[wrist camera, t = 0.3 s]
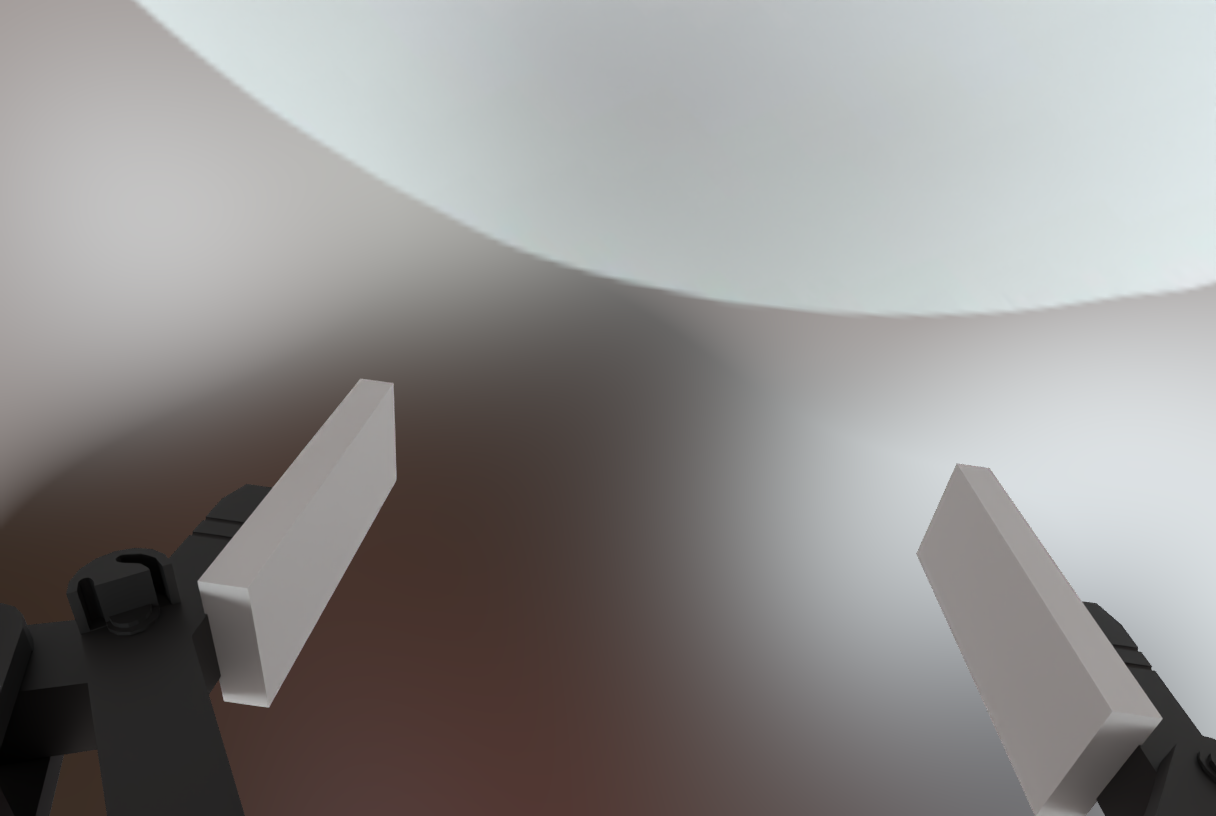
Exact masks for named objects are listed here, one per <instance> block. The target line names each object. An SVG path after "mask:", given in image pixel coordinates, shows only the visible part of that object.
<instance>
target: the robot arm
mask: <svg viewBox="0 0 1216 816" xmlns="http://www.w3.org/2000/svg"><path fill="white" fill-rule="evenodd" d="M395 481H396V448H395V416H394V384H393V383H388V382H381V381H374V380H367V379H360V380H359V381H358V383H357V384H356V385H355V386H354V387H353V389H352V390H351V391H350V392H349V394H348V395H347V396H346V397H345V399H344V400H343V401H342V402H341V404H340V405H339V406H338V408H337V409H336V410H335V411H334V412H333V413H332V415H331V416H330V417H329V418H328V420H327V421H326V422H325V424H324V425H323V426H322V427H321V428H320V430H319V431H318V432H317V434H316V435H315V436H314V437H313V438H312V440H311V441H310V442H309V443H308V445H307V446H306V447H305V448H304V450H303V451H302V452H301V453H300V454H299V456H298V457H297V458H296V459H295V461H294V462H293V463H292V465H291V466H290V467H289V468H288V469H287V471H286V472H285V473H284V474H283V476H282V477H281V478H280V479H279V481H278V482H277V483H276V484H275V486H274V487H273V488H271V487H263V486H257V485H249V484H246V485H244V486H243V487H241V488H240V489H238V490H236V491H234V492H233V493H231V494H229V495H227V496H226V497H224V498H222V499H221V501H220V502H219V503H218V504H217V505H216V506H215V507H214V508H213V509H212V510H211V512H210V513H209V514H208V515H207V516H206V520H205V521H204V520H203V521H202V522H201V523H200V524H199V525H198V526H197V527H196V528H195V530H194V531H193V534H192V536H191V535H189V536H188V538H187V539H186V540H185V541H184V542H183V543H182V544H181V545H180V546H179V548H178V549H177V550H176V551H175V552H174V553H173V554H172V555H171V557H170V558H169V559H168V558H167V557H166V555H165V554H163V553H160V552H158V551H155V550H153V549H142V548H132V549H126V550H120V551H115V552H112V553H110V554H107V555H104V556H102V557H99V558H96V559H95V560H93V561H92V562H90V563H89V564H87V565H85V566H84V567H82V568H81V569H79V571H78V572H77V573H76V574H75V575H74V577H73V578H72V579H71V580H70V581H69V584H68V589H67V597H68V600H69V603H70V606H71V609H72V612H73V614H74V617H75V620H71V621H63V622H53V623H43V624H34V625H27V624H26V621H25V619H24V616H23V615H22V614H21V612H20V611H18V610H17V608H16V607H14V606H10V605H6V604H3V603H0V816H49V815H50V811H51V807H52V802H53V798H54V794H55V789H56V786H57V781H58V777H59V773H60V769H61V764H62V760H63V756H64V754H70V753H77V752H83V751H90V750H98V756H99V763H100V770H101V777H102V784H103V790H104V797H105V804H106V811H107V816H245V815H244V812H243V808H242V805H241V802H240V798H239V795H238V792H237V788H236V785H235V781H234V778H233V775H232V771H231V768H230V765H229V761H228V758H227V754H226V751H225V748H224V745H223V741H222V738H221V734H220V731H219V727H218V724H217V721H216V717H215V714H214V711H213V708H212V704H211V701H210V697H209V694H210V692H211V691H212V689H213V688H214V686H215V684H216V683H217V681H218V680H220V685H221V689H222V694H223V698H224V701H226V702H233V703H241V704H247V705H254V706H262V707H269V706H270V705H271V703H272V701H273V699H274V697H275V696H276V694H277V692H278V690H279V689H280V687H281V685H282V683H283V681H284V679H285V678H286V676H287V674H288V672H289V671H290V669H291V667H292V665H293V664H294V662H295V660H296V658H297V656H298V654H299V653H300V651H301V649H302V647H303V646H304V644H305V642H306V640H307V638H308V637H309V635H310V633H311V631H312V630H313V628H314V626H315V624H316V623H317V621H318V619H319V617H320V615H321V614H322V612H323V610H324V608H325V606H326V605H327V603H328V601H329V599H330V598H331V595H332V594H333V592H334V590H335V588H336V587H337V585H338V583H339V581H340V580H341V578H342V576H343V574H344V572H345V571H346V569H347V567H348V565H349V563H350V562H351V560H352V558H353V556H354V555H355V553H356V551H357V549H358V548H359V546H360V544H361V542H362V540H363V539H364V537H365V535H366V533H367V532H368V530H369V528H370V526H371V524H372V523H373V521H374V519H375V517H376V515H377V514H378V512H379V510H380V508H381V507H382V505H383V503H384V501H385V499H386V498H387V496H388V494H389V492H390V490H391V489H392V487H393V485H394V483H395ZM917 556H918V559H919V561H920V563H921V565H922V567H923V570H924V572H925V574H926V576H927V578H928V580H929V583H930V585H931V587H932V589H933V592H934V594H935V596H936V598H937V600H938V602H939V605H940V607H941V609H942V611H943V614H944V616H945V618H946V620H947V623H948V625H949V627H950V629H951V631H952V634H953V636H954V638H955V640H956V642H957V645H958V647H959V649H960V651H961V654H962V655H963V658H964V660H965V662H966V665H967V667H968V669H969V671H970V673H971V675H972V678H973V680H974V682H975V684H976V686H977V689H978V691H979V693H980V695H981V698H982V700H983V702H984V704H985V706H986V709H987V711H988V713H989V715H990V718H991V720H992V722H993V724H994V726H995V728H996V731H997V733H998V735H999V737H1000V739H1001V742H1002V744H1003V746H1004V748H1005V751H1006V753H1007V755H1008V757H1009V759H1010V761H1011V764H1012V766H1013V768H1014V770H1015V773H1016V775H1017V777H1018V779H1019V781H1020V784H1021V786H1022V788H1023V790H1024V793H1025V795H1026V797H1027V799H1028V801H1029V804H1030V806H1031V808H1032V810H1033V812H1034V815H1035V816H1086V814H1087V813H1088V812H1089V811H1090V810H1091V808H1092V807H1093V806H1094V804H1095V803H1096V802H1097V801H1098V803H1099V805H1100V807H1101V809H1102V811H1103V813H1104V814H1105V816H1216V740H1215V739H1212V738H1209V737H1204V736H1202V735H1201V733H1200V732H1199V730H1198V729H1197V728H1196V726H1195V725H1194V724H1193V722H1192V721H1191V719H1190V718H1189V717H1188V715H1187V714H1186V713H1185V711H1184V710H1183V709H1182V707H1181V706H1180V704H1179V703H1178V702H1177V700H1176V699H1175V698H1174V696H1173V695H1172V693H1171V692H1170V691H1169V689H1168V688H1167V687H1166V685H1165V684H1164V682H1163V681H1162V680H1161V679H1160V677H1159V676H1158V674H1157V673H1156V672H1155V671H1152V670H1151V667H1152V666H1151V665H1150V663H1149V662H1148V661H1147V659H1146V658H1145V657H1144V655H1143V654H1142V652H1138V647H1137V646H1136V644H1135V643H1134V641H1133V640H1132V639H1131V637H1130V636H1129V634H1128V633H1127V632H1126V630H1125V629H1124V628H1123V626H1122V625H1121V624H1120V623H1119V622H1118V621H1116V620H1115V619H1114V618H1113V617H1112V616H1111V615H1109V614H1108V613H1107V612H1106V611H1105V610H1104V609H1102V608H1101V607H1100V606H1099V605H1098V604H1096V603H1090V602H1082V601H1081V600H1080V598H1079V597H1078V595H1077V594H1076V592H1075V591H1074V590H1073V588H1072V587H1071V585H1070V584H1069V582H1068V581H1067V579H1066V578H1065V577H1064V575H1063V574H1062V572H1061V571H1060V569H1059V568H1058V566H1057V565H1056V564H1055V562H1054V561H1053V559H1052V558H1051V556H1050V555H1049V553H1048V552H1047V550H1046V549H1045V548H1044V546H1043V545H1042V543H1041V542H1040V540H1039V539H1038V537H1037V536H1036V535H1035V533H1034V532H1033V530H1032V529H1031V528H1030V526H1029V524H1028V523H1027V522H1026V520H1025V519H1024V517H1023V516H1022V514H1021V513H1020V511H1019V510H1018V509H1017V507H1016V506H1015V504H1014V503H1013V501H1012V500H1011V498H1010V497H1009V496H1008V494H1007V493H1006V491H1005V490H1004V488H1003V487H1002V485H1001V484H1000V483H999V481H998V480H997V478H996V477H995V475H994V474H993V472H992V471H991V470H990V468H984V467H976V466H970V465H963V464H956V466H955V469H954V471H953V473H952V475H951V478H950V480H949V482H948V484H947V486H946V489H945V491H944V493H943V496H942V498H941V500H940V502H939V504H938V507H937V509H936V511H935V513H934V516H933V518H932V520H931V523H930V525H929V527H928V529H927V531H926V534H925V536H924V538H923V540H922V542H921V545H920V547H919V549H918V551H917Z"/></svg>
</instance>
